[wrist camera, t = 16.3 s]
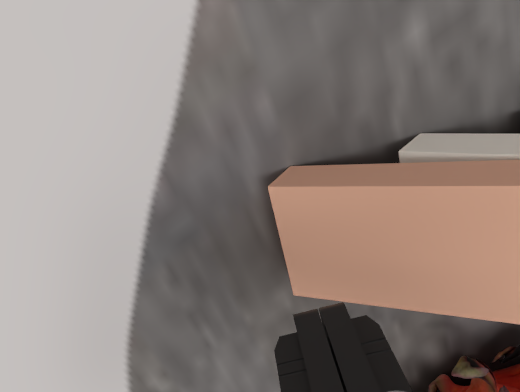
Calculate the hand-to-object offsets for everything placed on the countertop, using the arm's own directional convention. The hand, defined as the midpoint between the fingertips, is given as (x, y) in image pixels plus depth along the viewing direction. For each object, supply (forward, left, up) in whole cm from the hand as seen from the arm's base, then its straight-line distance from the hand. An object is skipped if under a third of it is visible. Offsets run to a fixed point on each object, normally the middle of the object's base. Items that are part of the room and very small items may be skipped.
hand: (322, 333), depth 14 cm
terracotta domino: (0, 0, -7) cm, 7 cm away
